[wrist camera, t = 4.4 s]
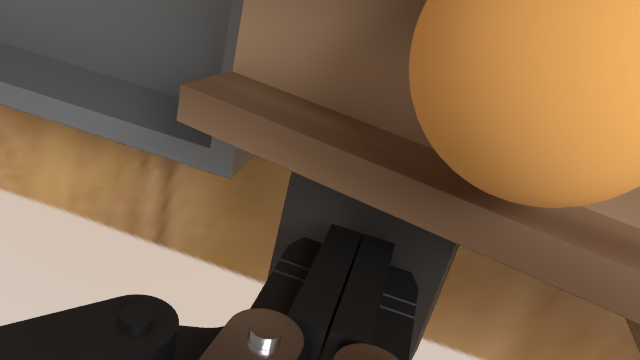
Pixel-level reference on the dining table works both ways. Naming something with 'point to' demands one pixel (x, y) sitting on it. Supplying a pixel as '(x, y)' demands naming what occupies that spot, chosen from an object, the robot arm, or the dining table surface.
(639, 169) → the ball
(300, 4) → the lever
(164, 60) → the bin
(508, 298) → the dining table surface
